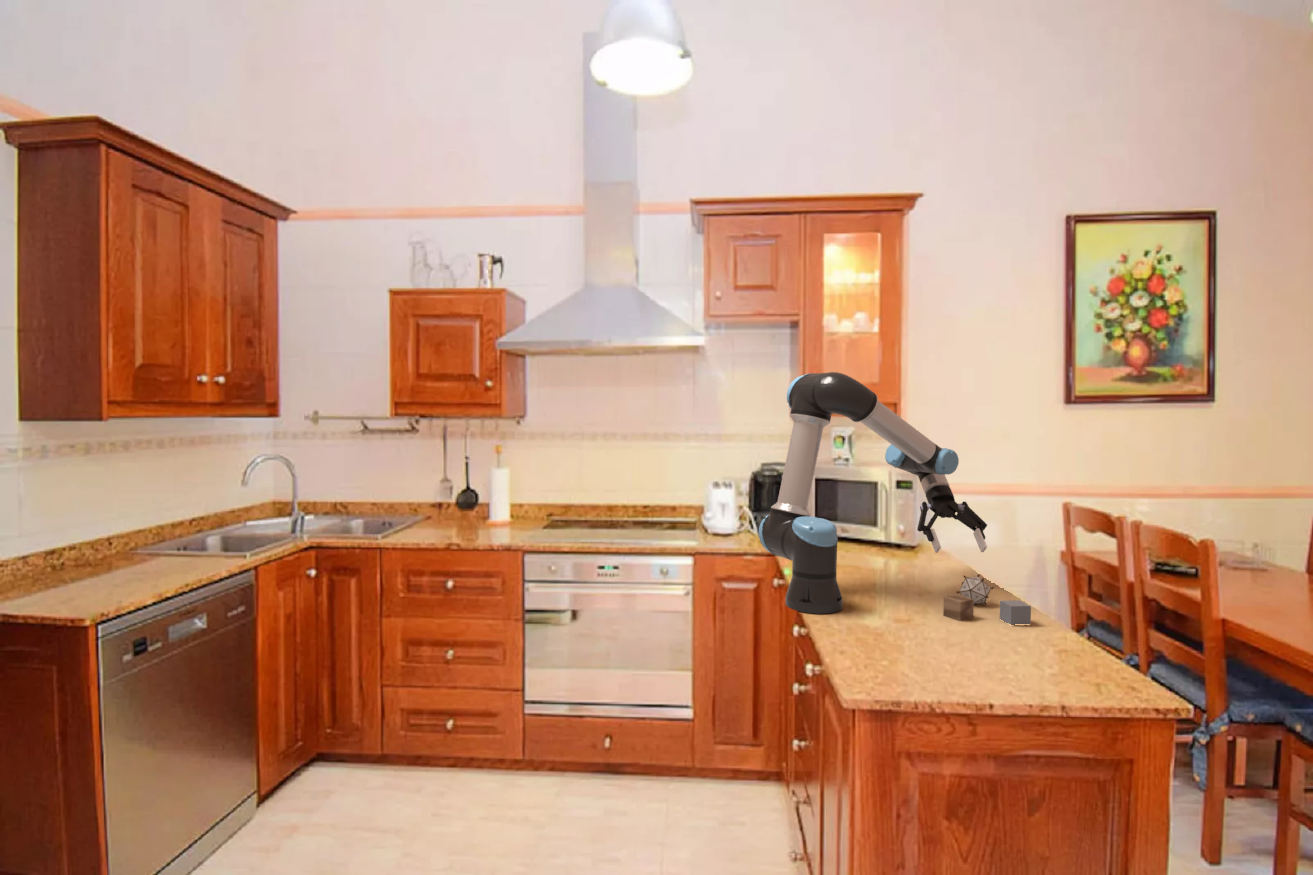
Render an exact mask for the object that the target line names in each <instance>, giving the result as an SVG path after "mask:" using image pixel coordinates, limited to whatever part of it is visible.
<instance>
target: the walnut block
mask: <svg viewBox="0 0 1313 875" xmlns="http://www.w3.org/2000/svg"><path fill="white" fill-rule="evenodd" d="M974 605H975V604H974V599H970V598H967V597H964V596H963V595H959V594H954V595H948V596H944V597H943V611H942V612H943V614H942V616H943V617H946V618H949V619H952V620H955V621H958V622H962V621H968V620H972V619H974V607H975V606H974Z"/></svg>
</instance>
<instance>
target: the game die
mask: <svg viewBox="0 0 1313 875" xmlns="http://www.w3.org/2000/svg"><path fill="white" fill-rule="evenodd" d="M963 578H964V580H963V581H962V582H961V584H962V585H961V586H960V589H959V591H957V590H956V592H955V593H956V594H960V596H963V597H967V598H970V599H974V605H975V604H983V603H984V605H985V606H988V604H987V602H986V601H987V599H989V598H990V597H989V595H990V593H991V590H994V589H995V587H994V586H990V585H989V584H988V583H987V582H986V581H985V578H981V577H980V573H978V574H977V576H969V577H967V576H966V575H963Z"/></svg>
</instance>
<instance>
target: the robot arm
mask: <svg viewBox="0 0 1313 875" xmlns="http://www.w3.org/2000/svg"><path fill="white" fill-rule="evenodd" d="M786 403H788V407H789V408H790V414H789V417H790V418H791V420H792V421H793V423H792V424H793V426H792V428H791V429H792V430H791V435H790V438H789V439H790V440H789V443H788V450H787V455H786V458H785V463H784V468H783V471H782V472H783V474H782V477H781V478H782V479H781V483H780V488H779V494H778V497H777V501H776V502H775V503H774V504H773V505H772V506H771V507H770V509H769V514H768V515H766V516H765V518H763V519H762V520H761V521H760V524H759V527H758V540H759V542H760V544H761V546H762V547H763V548H764V549H765V551H767V552H769V553H770V554H771V555H774V556H776V557H780V558H783V559H786V560H789V561H791V562H792V570H791V571H792V574H791V579H790V582H789V585H788V588H787V591H786V593H785V603H784V604H785V606H786V607H787V608H788V609H791V610H794V611H796V612H800V613H807V614H808V613H809V614H817V615H818V614H819V615H820V614H821V615H823V614H832V613H837V612H840V611H842V610H843V609H844V608H843V607H844V606H843V605H844V604H843V603H844V602H843V601H844V600H843V597H842V596H843V595H842V594H841V591H840V587H839V584H838V581H837V580H838V578H837V566H838V565H837V561H838V542H839V541H838V540H839V536H838V531H837V526H836V524H834V523H833V522H832V521H830V520H828V519H826V518H822V517H817V516H812V515H811V513H810V511H809V510H808V505H809V500H810V495H811V490H812V485H813V480H814V475H815V471H816V467H817V461H818V456H819V451H820V446H821V441H822V437H823V431H824V428H825V427H826V426H828V425H829V424H830V423H831V418H832V415H839V416H843V417H846V418H848V419H849V420H851V421H852V422H854V423H861V424H863V425H864V426H865V427H867V428H868V429H870V430H871V431H873V432H874V433H875V434H877V435H878V436H879V437H881V438H882V439H884V440H885V441H887V442H888V443H889V445H888V447H887V448H886V450H885V451H886V452H885V454H884V459H885V462H886V463H887V464H888V465H889V466H892V467H893V468H895V469H899V470H902V471H904V472H907V473H910V474H913V475H915V476H917V477H918V479H919V482H920V485H921V488H922V490H923V493H924V494H925V497H926V501H927V502H926V501H922V502H921V505H920V507H919V509H920V515H919V520H918V524H917V531H918V532H922V533H923V535H926V538H927V541H928V542H930V543H931V544H932V548H933V550H934V553H936V554H938V553H939V551H940V550H941V548H942V547H941V543H940V541H939V537H938V535H937V533H936V530H935V528H932V527H933V526H934V523H935V521H937V519H938V517H939V518H941V519H944V518H946V519H947V518H948V519H950V518H951V519H954V520H955V521H959V522H960V523H961V524H964V525H965V526H966V527H968V528H969V529H970V530H972V531H973V533H972V534H973V537H974V539H975V541H976V543H977V546H978V548H979V550H980V552H981V553H985V551H986V550H987V548H988V546H987V543H986V541H985V540H986V536H985V533H984V531H985V529H986V528H987V527H988V523H986V522H985V521H984V520H983V519H982V518H981V517H980V516H979V515H978V514H977V513H976V512H975V511H974V510H972V508H970V507H969V504H968V503H967V501H965V500H964V501H962V502H961V503H957V502H956V500H955V496H954V494H953V491H952V489H951V487H950V484H949V481H948V479H947V477H946V475H951V474H953V473H954V472H956V471H957V468H958V466H959V456H958V454H957V452H956V451H955V450H954V449H950V448H947V447H945V448H942V447H940V446H939V445H937V444H936V443H935V442H934V441H932V440H931V439H930V438H928V437H927V436H926V435H924V434H923V433H921V432H920V431H919V430H917V429H916V428H915V427H913V426H912V425H911V424H910V423H909V422H907V421H906V420H905V419H903V418H902V417H900V416H899V415H898V414H897V413H895V412H894V411H893V410H891V409H890V408H889V407H887V406H886V405H885V404H883V403H882V402H881V401H880V400H879V398H878V395H877V394H876V393H875V392H874V391H873V390H871V389H870V388H868V387H867V386H866V385H865V384H863V383H861V382H859V381H858V380H856V379H855V378H853V377H851V376H849V375H847V374H844V373H842V372H837V371H835V372H834V371H831V372H819V373H817V372H816V373H813V372H811V373H805V374H803V375H799V376H798V377H796V378H794V380H792V382H791V383H790V384H789V386H788V388H787V392H786ZM929 509H930V510H931V511H932V513H933V515H932V517H931V519H930V520H929V522H927V525H925V524H926V519H927V513H928V511H929Z"/></svg>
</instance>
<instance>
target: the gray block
mask: <svg viewBox="0 0 1313 875" xmlns="http://www.w3.org/2000/svg"><path fill="white" fill-rule="evenodd" d="M1031 617H1032V606H1031V605H1030V604H1027V603H1026V602H1023V601H1022V600H1017V599H1016V600H999V620H1000V619H1001V620H1003V621H1004V622H1003V621H1002V622H1003V623H1005V622H1006V623H1009V624H1011V625H1015V624H1031V623H1032V621H1031ZM1001 620H1000V621H1001ZM1006 623H1005V624H1006Z"/></svg>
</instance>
